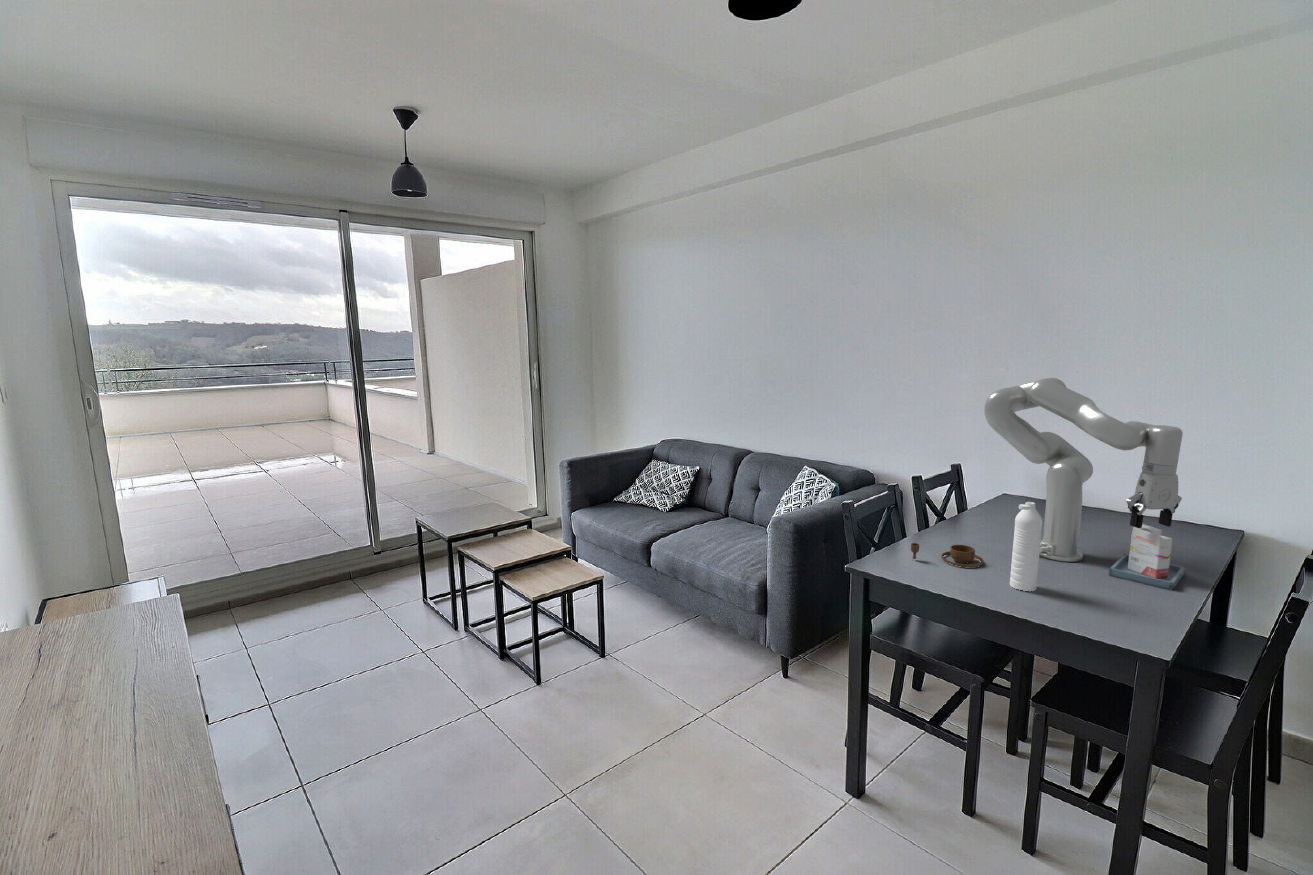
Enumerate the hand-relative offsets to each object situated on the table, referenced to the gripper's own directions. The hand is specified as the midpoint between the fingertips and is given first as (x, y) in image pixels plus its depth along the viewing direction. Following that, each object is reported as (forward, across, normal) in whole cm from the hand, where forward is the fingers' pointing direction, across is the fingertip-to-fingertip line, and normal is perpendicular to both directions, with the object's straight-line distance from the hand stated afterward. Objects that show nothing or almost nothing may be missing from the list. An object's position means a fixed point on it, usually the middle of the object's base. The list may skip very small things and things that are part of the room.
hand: (1150, 525), depth 177 cm
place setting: (+17, -48, +22) cm, 55 cm away
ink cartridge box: (+14, +1, -1) cm, 15 cm away
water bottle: (+16, -42, -2) cm, 44 cm away
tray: (+15, 0, -1) cm, 15 cm away
